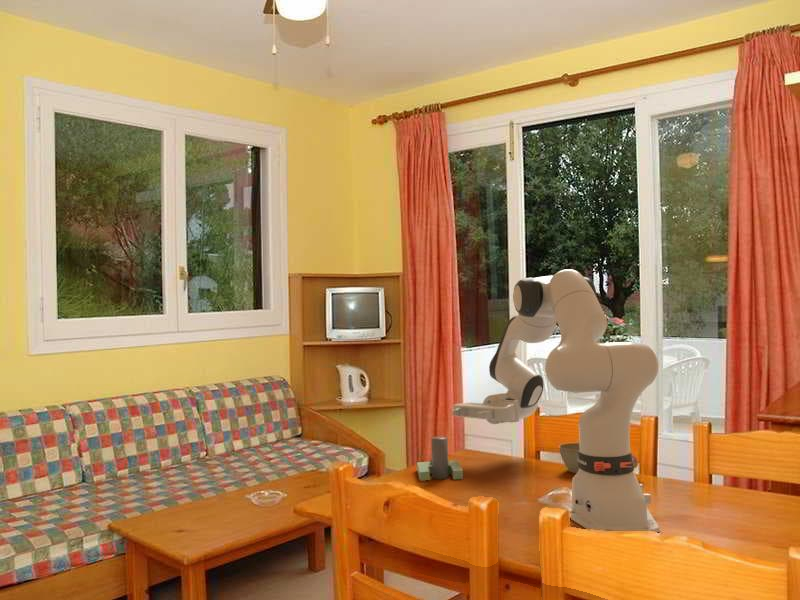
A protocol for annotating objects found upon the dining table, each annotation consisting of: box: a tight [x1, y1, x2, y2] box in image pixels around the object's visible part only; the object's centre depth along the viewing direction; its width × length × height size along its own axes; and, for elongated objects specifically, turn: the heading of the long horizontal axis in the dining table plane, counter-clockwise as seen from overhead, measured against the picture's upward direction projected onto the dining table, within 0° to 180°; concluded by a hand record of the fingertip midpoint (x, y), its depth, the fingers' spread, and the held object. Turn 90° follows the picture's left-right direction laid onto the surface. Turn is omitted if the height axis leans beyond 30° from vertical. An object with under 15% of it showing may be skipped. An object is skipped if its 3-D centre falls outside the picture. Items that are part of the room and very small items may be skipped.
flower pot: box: [558, 442, 580, 474], centre depth 204 cm, size 10×10×7 cm
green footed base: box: [416, 457, 464, 482], centre depth 205 cm, size 12×12×4 cm
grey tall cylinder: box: [430, 436, 450, 480], centre depth 202 cm, size 4×4×11 cm
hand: (465, 414), depth 209 cm, fingers open, 8 cm apart
